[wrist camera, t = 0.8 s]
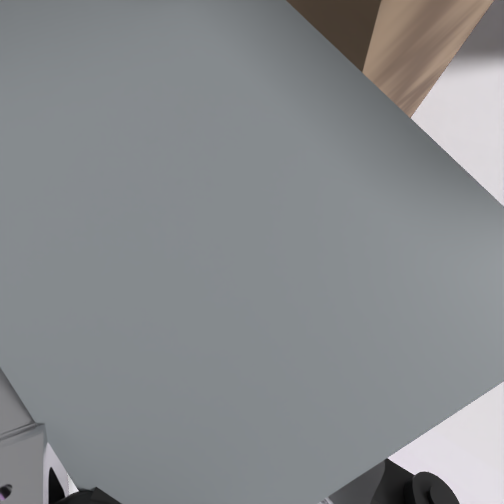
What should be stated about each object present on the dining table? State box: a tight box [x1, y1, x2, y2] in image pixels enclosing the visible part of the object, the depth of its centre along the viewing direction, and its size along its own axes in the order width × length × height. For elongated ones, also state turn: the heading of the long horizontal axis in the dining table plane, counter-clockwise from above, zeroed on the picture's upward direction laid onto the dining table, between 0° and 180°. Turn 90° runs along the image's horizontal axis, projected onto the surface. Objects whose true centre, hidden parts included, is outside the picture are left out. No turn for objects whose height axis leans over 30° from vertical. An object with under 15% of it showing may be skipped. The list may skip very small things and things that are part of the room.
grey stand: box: [0, 0, 504, 504], centre depth 20 cm, size 10×13×28 cm
